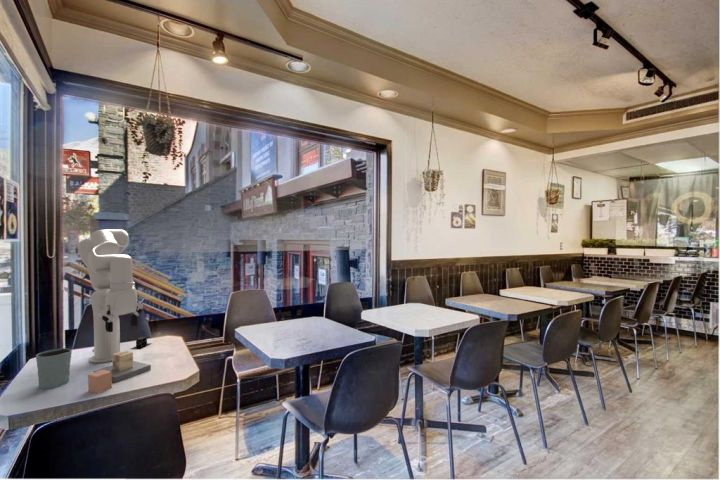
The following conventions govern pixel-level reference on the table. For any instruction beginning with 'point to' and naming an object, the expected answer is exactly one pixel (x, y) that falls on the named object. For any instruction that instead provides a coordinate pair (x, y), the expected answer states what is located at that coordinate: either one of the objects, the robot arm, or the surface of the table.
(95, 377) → the terracotta block
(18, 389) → the table surface
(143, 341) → the black frame block
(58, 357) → the green cup
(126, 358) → the maple block
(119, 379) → the baseplate
